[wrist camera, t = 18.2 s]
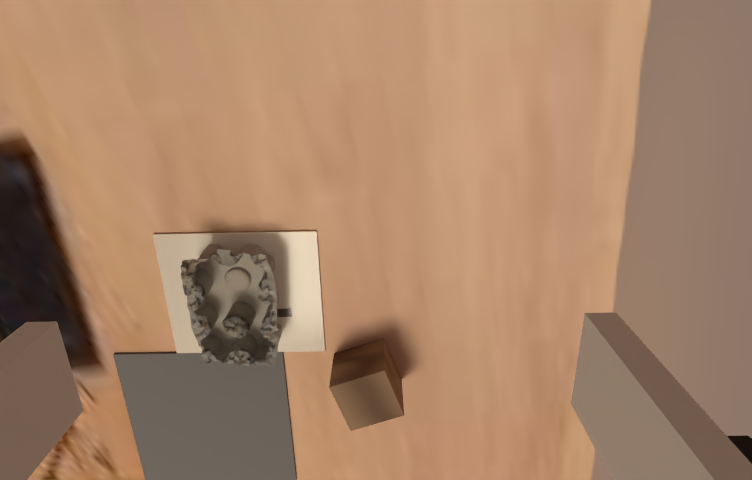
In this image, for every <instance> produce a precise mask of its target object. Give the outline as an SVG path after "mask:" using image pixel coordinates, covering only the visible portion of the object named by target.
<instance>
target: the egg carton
mask: <svg viewBox="0 0 752 480" xmlns="http://www.w3.org/2000/svg"><path fill="white" fill-rule="evenodd" d="M274 268H275V260H274V257H272V256H269V255H268V254H266V253H264V252H263V251H262V250H261V248H260V247H259V246H258V245H253V244H248V245H247V246H246V247H245V249H244V250H243V252H242V253H241V254H237V255H236V256H233V254H232V252H231V250H223V249H222V248H221V246H220V245H218V244H217V245H214V244H210V245H208V246H207V248H206V249H205V250H204V251H203V252H202V254H201V255H200V257H199V258H198V259H191V260H183V261H182V265H181V271H182V272H181V279H182V284H183V290H184V294H185V295H187V306H188V310H189V313H190V319H191V328H192V330H193V333H194V335H195V338H196V339H197V341H198V345H199V346H200V347H201V349H202V354H201V356H202V359H203V361H204V362H205V363H211V362H213V361H217V362H221V363H222V365H228V364H236V365H238V366H239V365H246V366H250V367H252V366H255V365H262V366H265V367H275V364H276V359H277V352H278V343H279V340H280V338H281V334H282V328H281V325H280V324H277V303H278V301H279V296H278V292H277V291H276V287H275V281H274V276H273V273H272V272H273V270H274Z"/></svg>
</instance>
